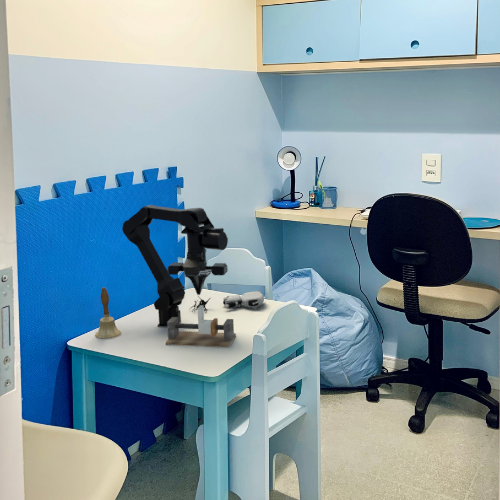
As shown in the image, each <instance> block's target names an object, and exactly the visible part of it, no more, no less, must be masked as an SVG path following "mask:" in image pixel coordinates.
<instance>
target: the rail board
mask: <svg viewBox="0 0 500 500" xmlns="http://www.w3.org/2000/svg"><path fill="white" fill-rule="evenodd" d="M212 320H213V321H212V322H211V334H199V332H198V331H188V330H198V323H182V322H180V323H178V317H172V318H171V319H170V320H169V321H168V322H167V327H166V328H167V340H166V341H165V345H166V346H188V347H189V346H190V347H193V346H194V347H209V348H210V347H215V348H217V347H218V348H230V346H231V344H233V341H234V340H235V338H236V336H237V333H236V332H235V330H234V325H235V324H234V319H233V318H226V320H225V321H224V323H223V324H219V322H218V320H219V318H218V317H217V318H216V317H215V318H213V319H212ZM180 329H182V330H180ZM183 329H184V330H185V329H188V330H187V331H186V330H185V331H184V330H183ZM219 331H223V332H219Z"/></svg>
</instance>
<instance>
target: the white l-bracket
mask: <svg viewBox="0 0 500 500" xmlns="http://www.w3.org/2000/svg"><path fill="white" fill-rule="evenodd" d="M197 309H198V310H197V321H198V322H197V324H198V329H197V330H198V331H197V332H199V334H211V322H212V321H213V319H205V308H203V305H200V306H199V307H198V308H197Z"/></svg>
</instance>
